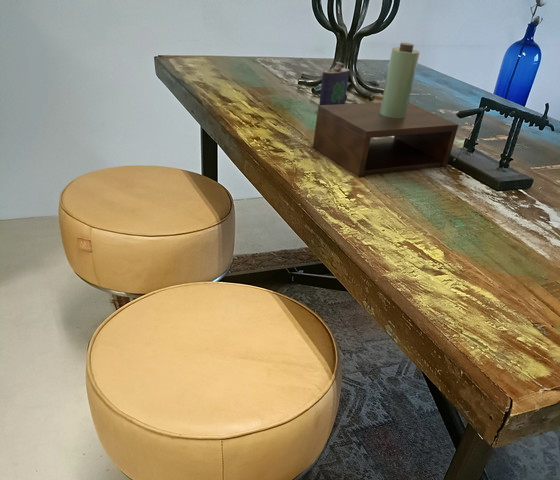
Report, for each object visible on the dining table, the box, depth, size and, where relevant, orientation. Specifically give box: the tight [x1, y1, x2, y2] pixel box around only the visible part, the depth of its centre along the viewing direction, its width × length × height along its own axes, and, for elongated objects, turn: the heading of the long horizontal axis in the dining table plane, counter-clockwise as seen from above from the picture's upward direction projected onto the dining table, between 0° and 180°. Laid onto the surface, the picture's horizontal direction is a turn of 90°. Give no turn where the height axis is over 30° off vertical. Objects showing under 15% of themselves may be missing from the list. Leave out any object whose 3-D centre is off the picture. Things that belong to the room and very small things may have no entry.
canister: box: [379, 42, 421, 118], centre depth 105 cm, size 5×5×12 cm
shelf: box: [312, 101, 459, 178], centre depth 111 cm, size 16×22×8 cm
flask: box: [318, 61, 351, 105], centre depth 133 cm, size 9×3×11 cm, turn 140°
